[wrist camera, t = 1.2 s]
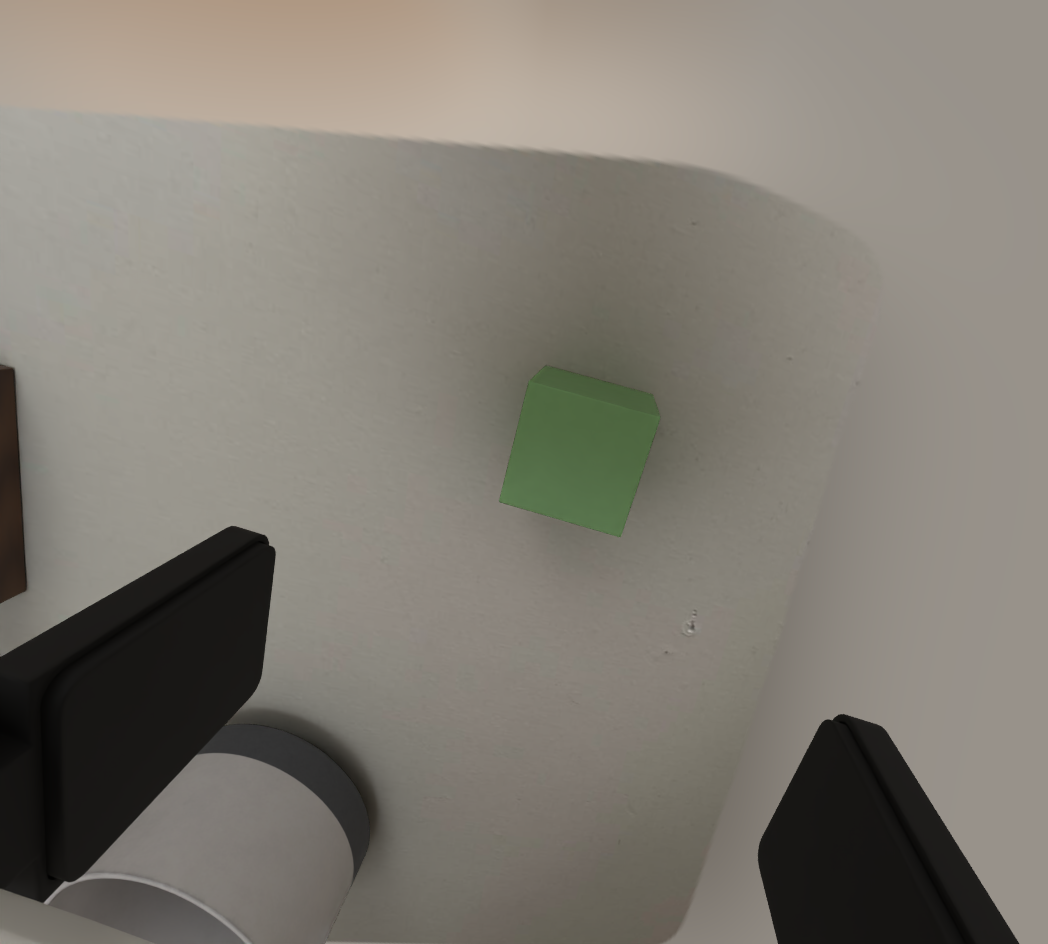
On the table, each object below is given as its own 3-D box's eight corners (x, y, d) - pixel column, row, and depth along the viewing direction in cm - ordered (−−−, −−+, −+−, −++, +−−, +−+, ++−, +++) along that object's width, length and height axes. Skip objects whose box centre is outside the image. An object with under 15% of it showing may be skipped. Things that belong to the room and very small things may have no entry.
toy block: (545, 365, 26) (528, 380, 21) (653, 394, 25) (660, 417, 20) (519, 466, 27) (498, 502, 22) (620, 495, 27) (620, 538, 22)
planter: (261, 884, 39) (141, 1082, 29) (156, 739, 37) (-16, 903, 27) (415, 845, 36) (337, 1055, 26) (310, 682, 33) (178, 846, 23)
